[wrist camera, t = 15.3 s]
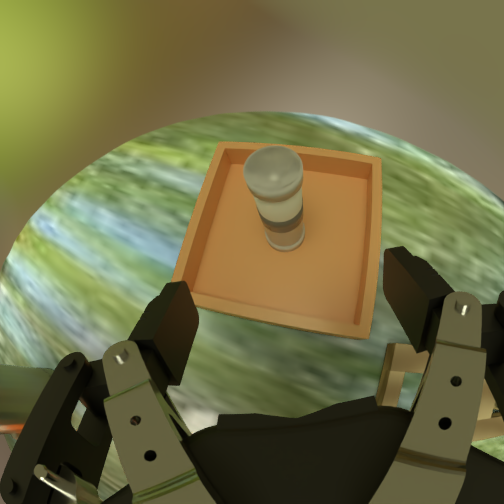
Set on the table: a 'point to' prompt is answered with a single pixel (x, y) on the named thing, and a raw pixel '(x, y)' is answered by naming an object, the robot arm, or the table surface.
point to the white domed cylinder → (278, 194)
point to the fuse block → (407, 360)
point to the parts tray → (295, 262)
